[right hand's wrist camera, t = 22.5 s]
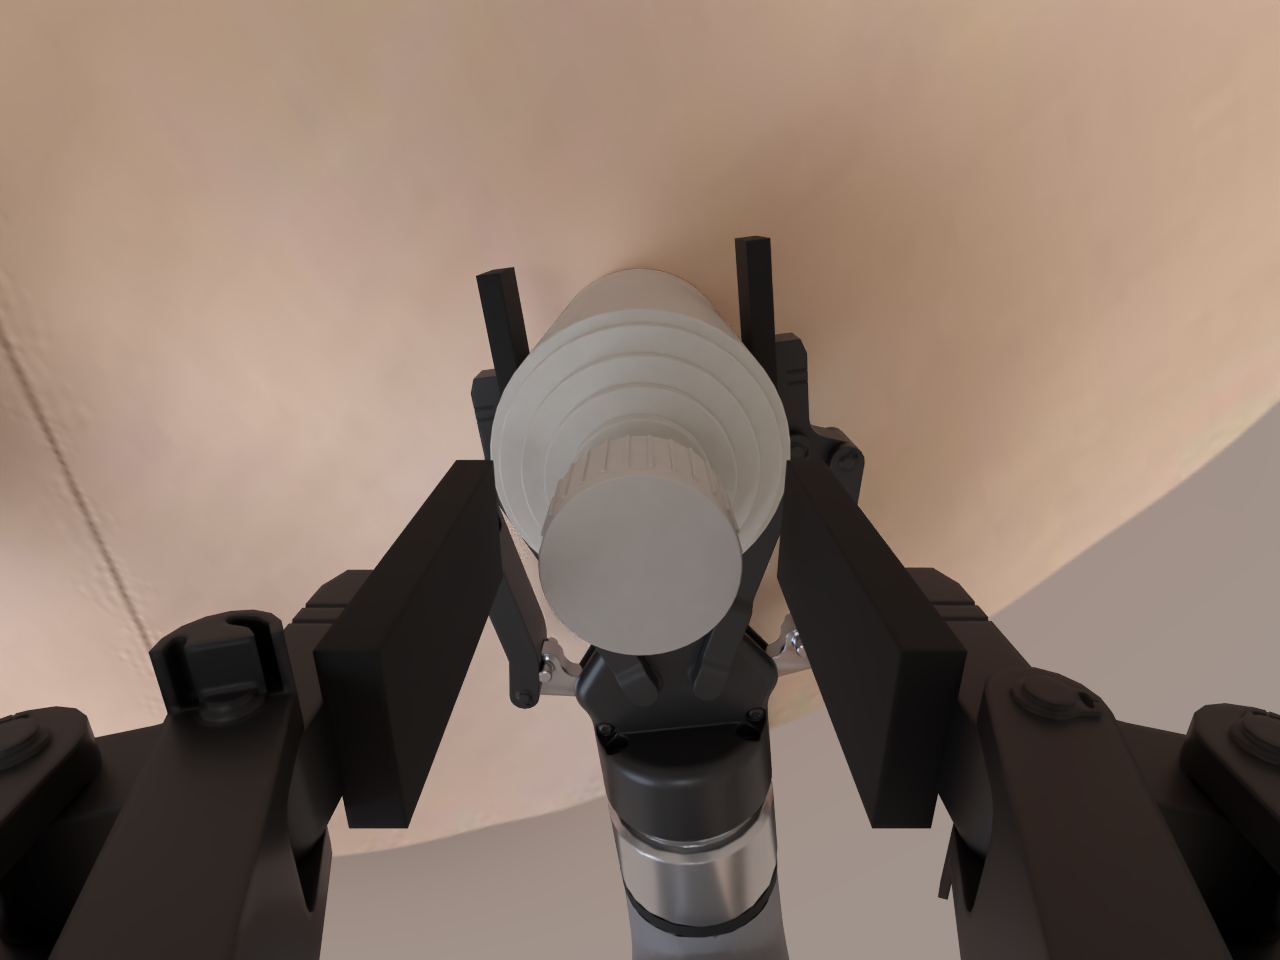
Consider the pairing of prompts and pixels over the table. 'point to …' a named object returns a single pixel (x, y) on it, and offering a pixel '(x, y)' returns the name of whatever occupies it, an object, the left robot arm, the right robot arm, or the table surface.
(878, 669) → the right robot arm
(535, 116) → the table surface
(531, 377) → the bottle
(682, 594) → the cap
